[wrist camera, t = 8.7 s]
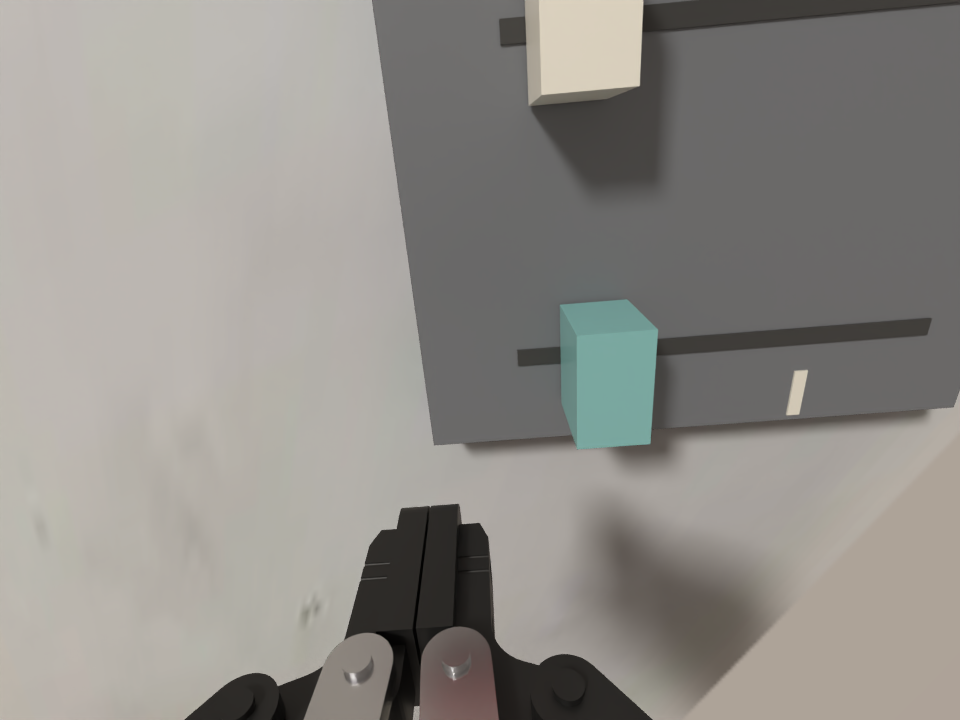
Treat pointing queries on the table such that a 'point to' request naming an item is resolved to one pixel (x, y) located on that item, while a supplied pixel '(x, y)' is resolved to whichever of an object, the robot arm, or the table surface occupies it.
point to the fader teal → (607, 373)
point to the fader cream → (582, 49)
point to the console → (685, 209)
